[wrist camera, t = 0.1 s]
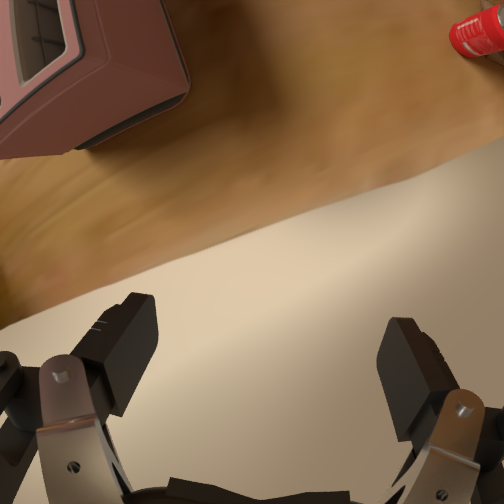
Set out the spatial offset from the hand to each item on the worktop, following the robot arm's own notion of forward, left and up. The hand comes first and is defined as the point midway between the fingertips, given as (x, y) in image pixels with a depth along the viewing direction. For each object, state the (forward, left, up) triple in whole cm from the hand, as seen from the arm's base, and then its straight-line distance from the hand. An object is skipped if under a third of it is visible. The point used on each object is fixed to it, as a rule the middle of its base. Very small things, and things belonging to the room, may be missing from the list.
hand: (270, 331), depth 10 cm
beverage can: (-24, +24, -29) cm, 45 cm away
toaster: (-22, -25, -30) cm, 45 cm away
